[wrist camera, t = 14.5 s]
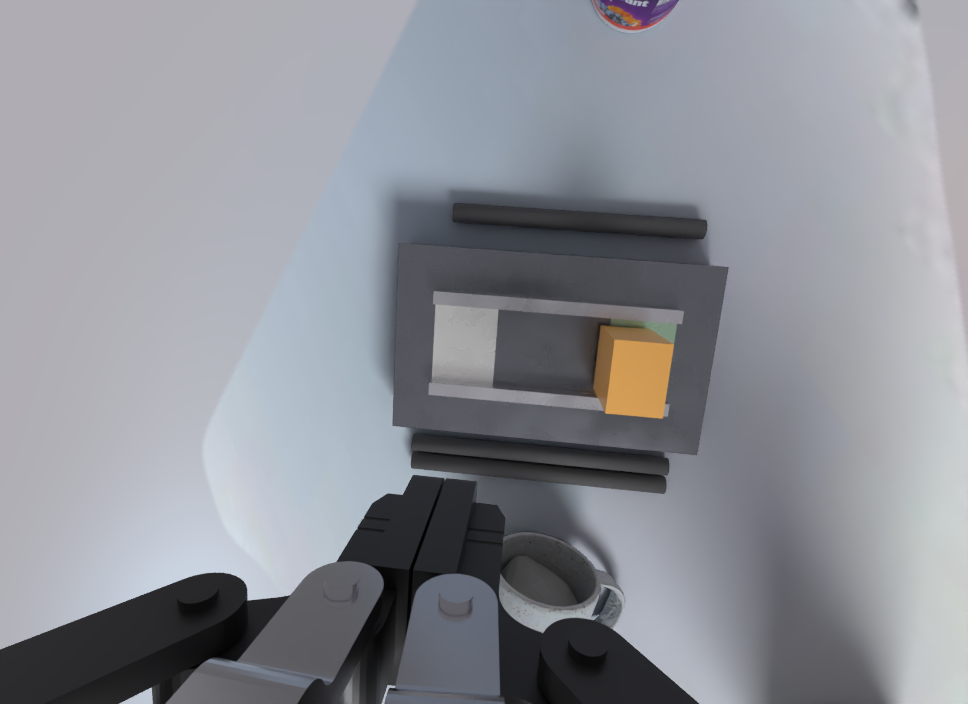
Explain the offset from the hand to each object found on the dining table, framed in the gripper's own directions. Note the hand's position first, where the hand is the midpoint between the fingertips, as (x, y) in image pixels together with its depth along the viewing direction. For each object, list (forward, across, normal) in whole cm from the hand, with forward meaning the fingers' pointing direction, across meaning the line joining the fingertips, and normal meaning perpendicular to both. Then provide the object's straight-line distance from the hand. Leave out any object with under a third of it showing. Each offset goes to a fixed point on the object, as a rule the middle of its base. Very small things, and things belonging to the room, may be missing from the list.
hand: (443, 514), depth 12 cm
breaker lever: (+21, -8, 0) cm, 22 cm away
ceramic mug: (+24, -5, +18) cm, 31 cm away
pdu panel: (+24, -3, 0) cm, 24 cm away
